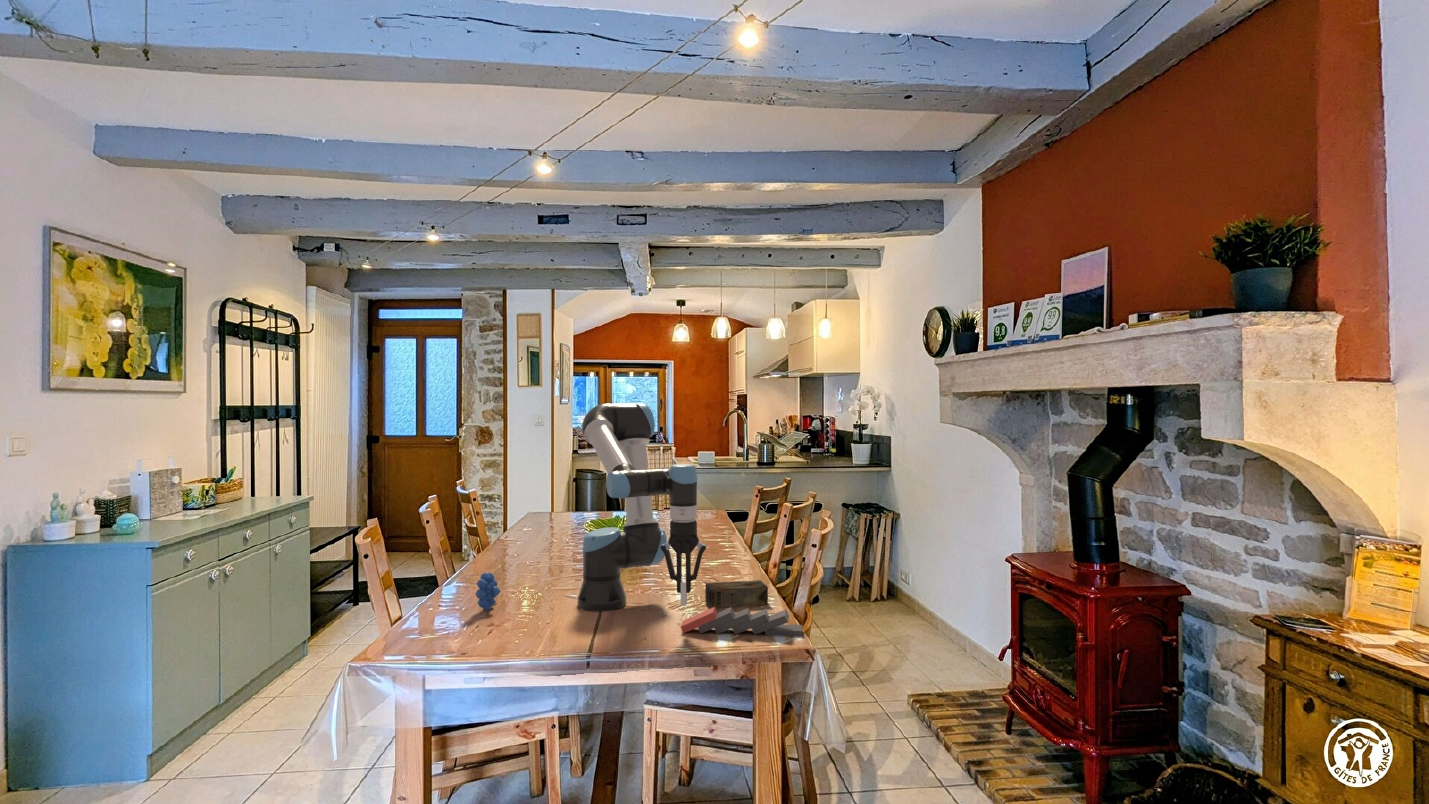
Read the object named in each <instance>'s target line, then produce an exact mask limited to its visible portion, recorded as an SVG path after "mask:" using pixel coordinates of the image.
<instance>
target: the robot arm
mask: <svg viewBox="0 0 1429 804" xmlns="http://www.w3.org/2000/svg"><path fill="white" fill-rule="evenodd" d="M655 428H656V423H655V417H654V413H653V412H652V409H651V407H649V406H648V405H647V404H646V403H636V402H631V403H630V402H626V403H625V402H623V403H601V404H598V405H595V406H594V407H592V408H591V409H590V410H588V412H587V413H586V414H585V416H584V418H583V420H582V424H581V431H582V435H583V437H584V439H585V440H586V442H587V443H589V445H592V448H593V449H594V451H595V452H596V455H597V457H598V458H599V460H600V463H601V464H602V466H603V468H604V470H605V471H606V473H607V475H606V478H605V487H606V493H607V495H608V496H609V497H610V498H612V499H624V501H625V513H626V521H625V523H624V524H623V525H622V531H621V529H620V528H619V527H614V526H611V527H602V528H598V529H592V530H590V531H589V532H587V533H586V534H585V535H584V536H583V540H582V548H581V549H582V584H581V586H580V590H579V592H578V596H577V608H579V609H581V610H584V611H591V612H605V611H612V610H617V609H621V608H622V607H623V606H625V605H626V604H627V595H626V592H625V588H624V585H623V583H622V580H621V570H623V569H624V570H625V569H630V568H631V569H632V568H641V567H650V566H655V565H658V564H661V562H662V561H664V559H665V562H666V566H667V571H668V576H669V578H670V580H673V581H675V582H676V593H677V594H680V606H681V607H682V606H683V607H685V606H687V605H688V594H690V593H691V591H692V581H695V580H697V578H698V575H699V570H700V566H701V562H702V557H703V554H704V552H705V551H706V549H707V544H706V543H702V542H700V539H699V537H698V521H697V520H696V519H697V518H698V504H697V503H698V502H697V501H698V496H697V495H698V475H697V467H696V465H694V464H691V463H690V464H689V463H676V464H673V465H671V466H670V467H669V466H668V467H660V468H656V469H649V463H648V454H647V453H648V452H647V446H648V445H649V443H650V442H651V437H653V436H654V434H655V431H656V430H655ZM665 495H668V496H669V519H670V520H671V521H670V522H669V538H668V539H667V534H666V531H665V529H664V528H663V527H660V526H659V521H658V520H656V519H655V517H654V515H653V512H654V511H653V503H652V496H665ZM696 547H697V555H696V560H695V563H694V564H695V565H694V569H693V572H692V560H691V559H692V552H693V551H694V549H696ZM671 548H672V550H673V551H674V553H675V555H676V556H675V557H676V571H675V567H674V564H673V559H672V555H671V551H670V549H671ZM683 554H684V556H685V579H683V571H682V570H683V569H682V568H683V563H682V562H683V560H682V558H683Z"/></svg>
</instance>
